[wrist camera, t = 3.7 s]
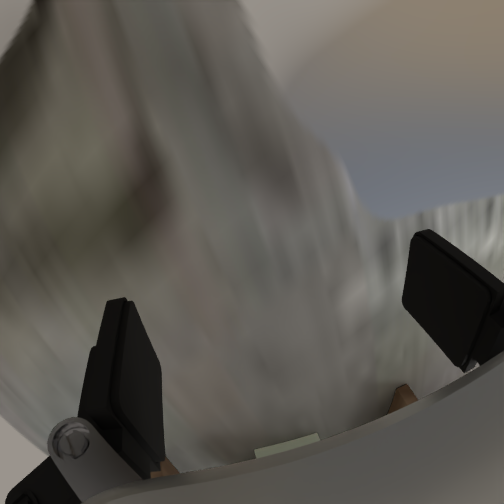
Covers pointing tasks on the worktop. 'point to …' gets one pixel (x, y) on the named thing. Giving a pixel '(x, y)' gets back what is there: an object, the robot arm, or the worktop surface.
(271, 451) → the sage block
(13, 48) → the worktop surface
